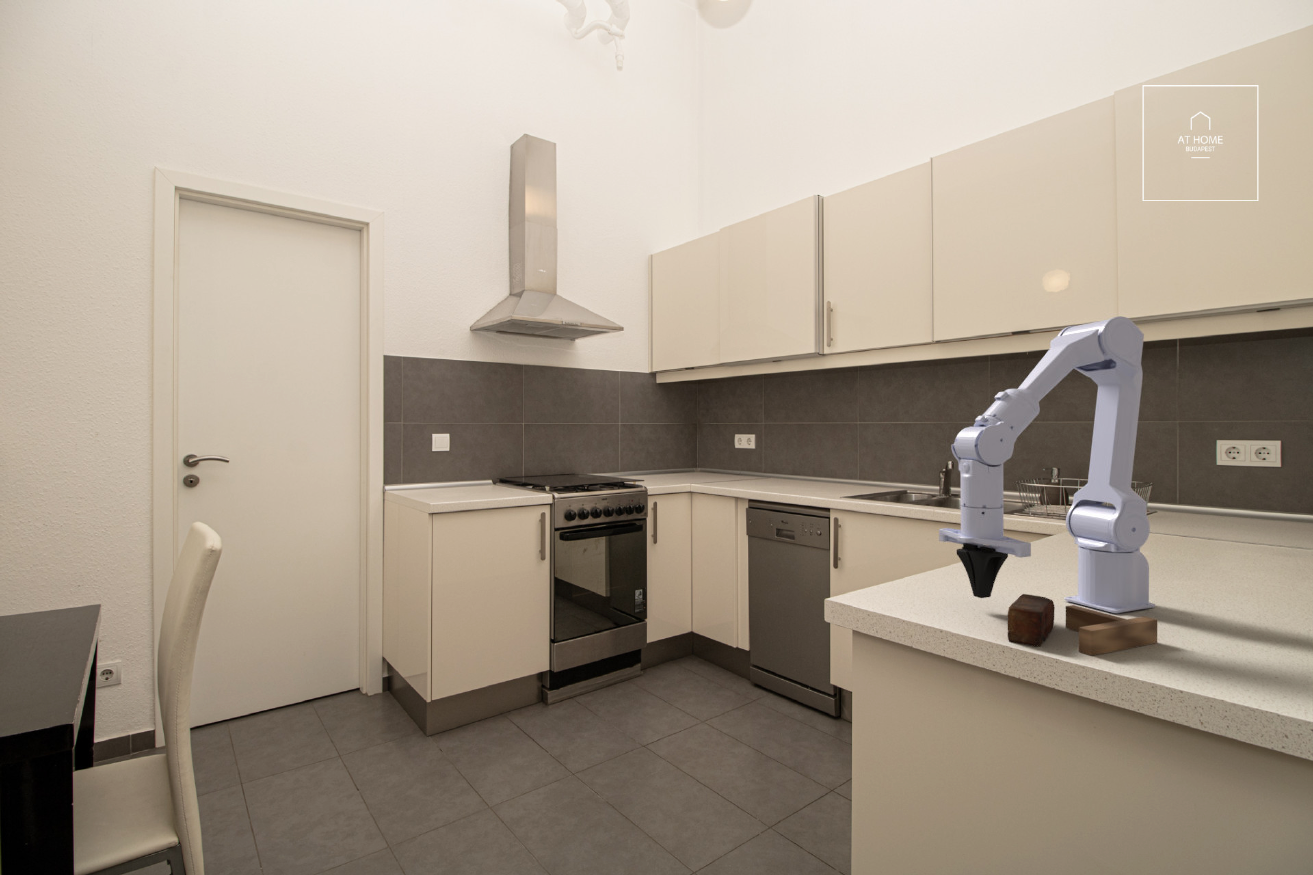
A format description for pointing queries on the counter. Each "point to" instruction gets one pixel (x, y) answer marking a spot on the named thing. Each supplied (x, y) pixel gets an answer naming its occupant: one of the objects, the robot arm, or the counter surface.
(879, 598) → the counter surface
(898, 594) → the counter surface
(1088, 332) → the robot arm
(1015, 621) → the brick
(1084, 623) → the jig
